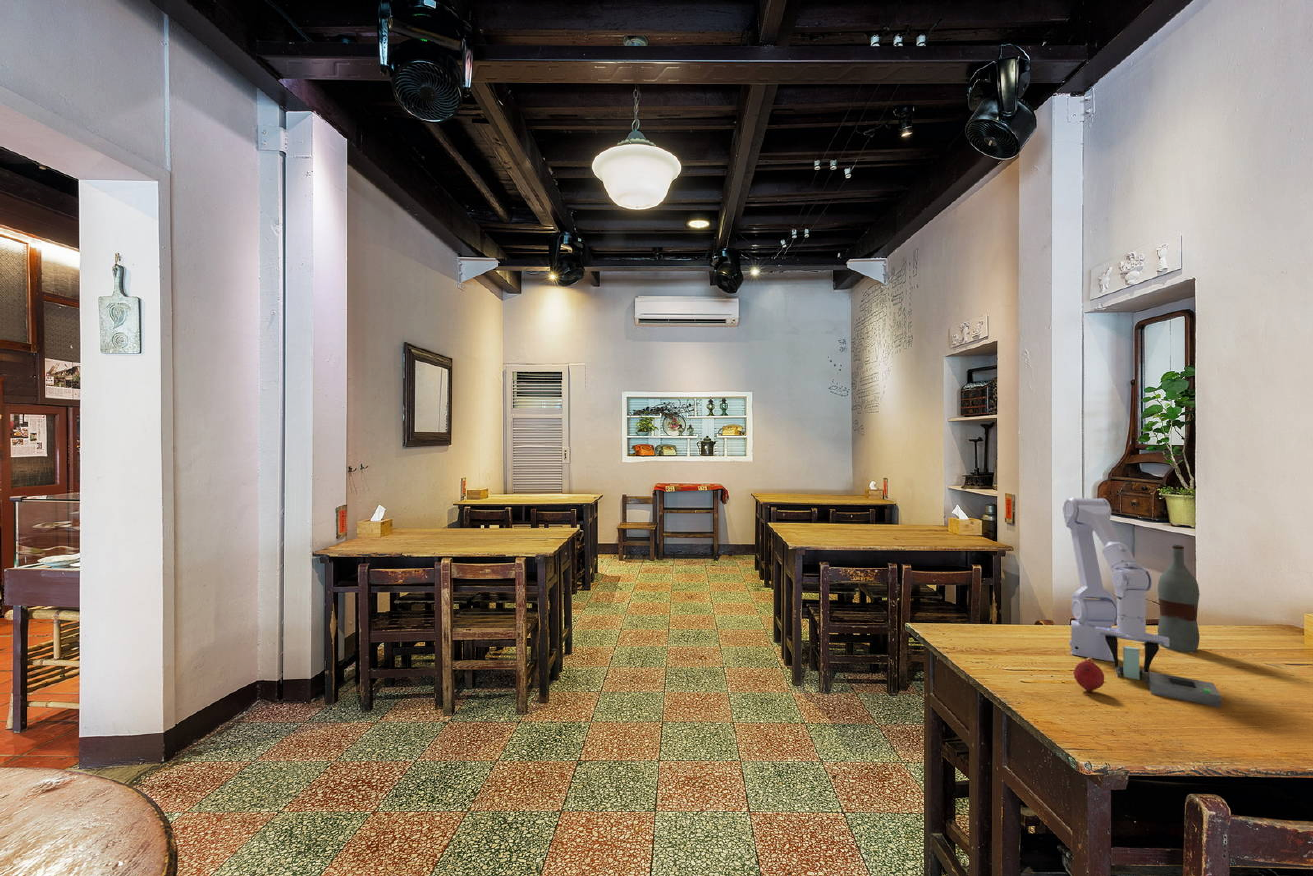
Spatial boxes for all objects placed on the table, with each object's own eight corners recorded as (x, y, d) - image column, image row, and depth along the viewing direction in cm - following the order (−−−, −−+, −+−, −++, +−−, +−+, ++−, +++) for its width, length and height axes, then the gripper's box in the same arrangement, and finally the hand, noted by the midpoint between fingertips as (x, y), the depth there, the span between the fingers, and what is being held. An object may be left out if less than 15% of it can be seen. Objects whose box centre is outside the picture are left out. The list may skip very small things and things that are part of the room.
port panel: (1151, 693, 138) (1151, 680, 138) (1147, 681, 145) (1147, 669, 145) (1221, 707, 131) (1220, 693, 131) (1213, 694, 138) (1213, 680, 138)
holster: (1117, 677, 148) (1117, 672, 148) (1116, 670, 153) (1116, 665, 153) (1146, 682, 145) (1146, 677, 145) (1144, 675, 149) (1144, 670, 149)
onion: (1095, 698, 135) (1095, 664, 135) (1068, 689, 140) (1068, 655, 140) (1109, 694, 138) (1109, 659, 138) (1082, 685, 143) (1082, 652, 143)
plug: (1124, 676, 148) (1124, 649, 148) (1123, 673, 151) (1123, 646, 151) (1139, 679, 147) (1139, 651, 147) (1138, 676, 149) (1138, 648, 149)
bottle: (1183, 654, 165) (1183, 548, 166) (1149, 643, 174) (1149, 543, 175) (1208, 652, 167) (1207, 547, 168) (1173, 641, 176) (1173, 542, 177)
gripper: (1096, 613, 150) (1096, 666, 150) (1170, 624, 141) (1171, 680, 141) (1095, 607, 156) (1095, 659, 155) (1167, 617, 147) (1167, 671, 147)
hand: (1131, 668), depth 149 cm, fingers open, 5 cm apart
